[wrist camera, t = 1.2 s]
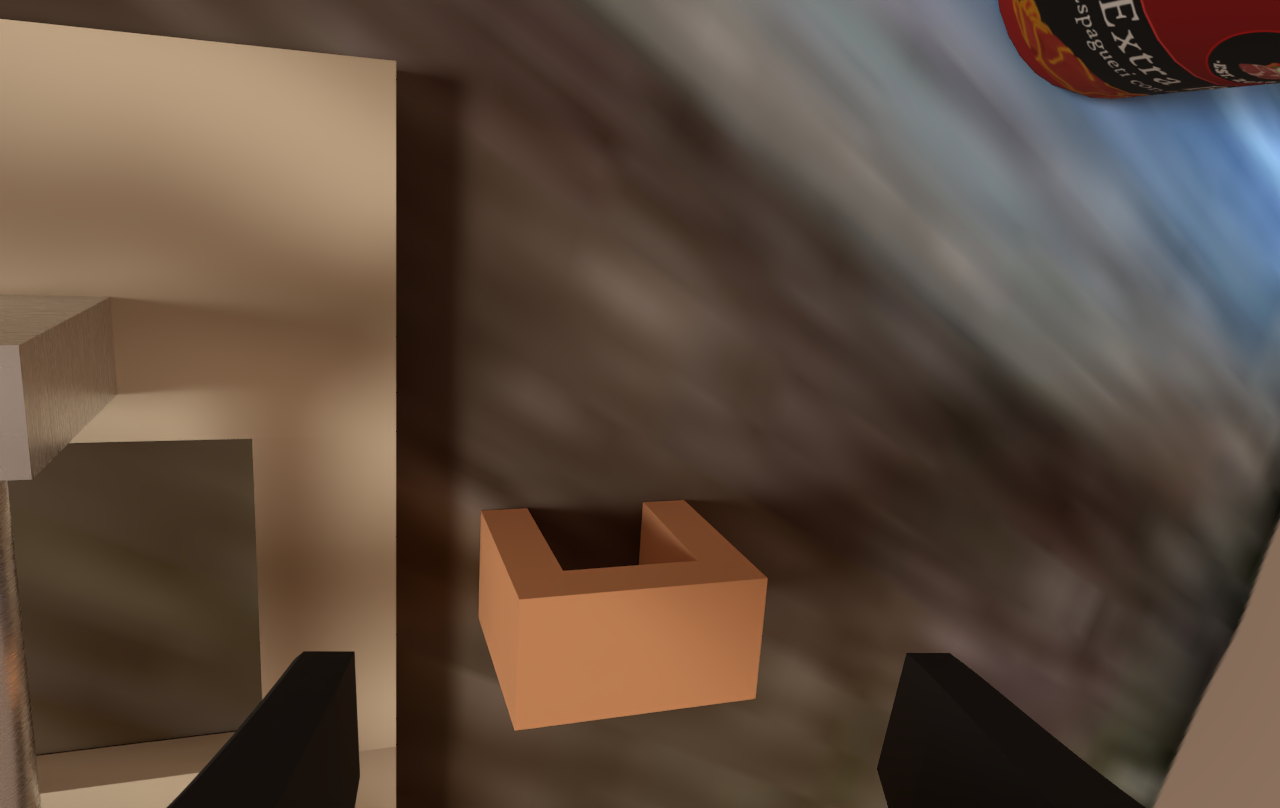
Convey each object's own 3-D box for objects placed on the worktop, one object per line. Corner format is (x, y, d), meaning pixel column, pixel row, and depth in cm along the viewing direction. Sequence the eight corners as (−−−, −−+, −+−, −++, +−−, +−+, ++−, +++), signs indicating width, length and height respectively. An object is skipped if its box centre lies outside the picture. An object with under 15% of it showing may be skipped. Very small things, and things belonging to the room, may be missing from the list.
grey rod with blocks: (154, 891, 21) (94, 1120, 16) (3, 916, 20) (-111, 1169, 15) (109, 297, 18) (18, 345, 13) (-72, 293, 17) (-250, 343, 12)
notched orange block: (676, 599, 25) (755, 698, 20) (478, 617, 23) (514, 730, 19) (683, 499, 25) (767, 578, 20) (480, 510, 23) (518, 599, 18)
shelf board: (392, 964, 25) (396, 1010, 24) (-230, 1094, 21) (-271, 1159, 19) (392, 69, 20) (396, 61, 18) (-457, -19, 15) (-537, -39, 14)
